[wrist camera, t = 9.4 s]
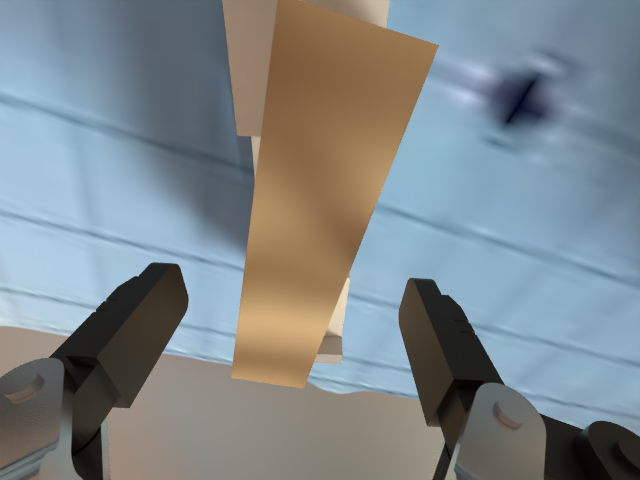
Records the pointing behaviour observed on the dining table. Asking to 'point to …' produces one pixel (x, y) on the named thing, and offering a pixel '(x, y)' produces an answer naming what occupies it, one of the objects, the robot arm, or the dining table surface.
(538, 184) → the dining table surface
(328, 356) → the display stand
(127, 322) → the robot arm
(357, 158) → the bar
